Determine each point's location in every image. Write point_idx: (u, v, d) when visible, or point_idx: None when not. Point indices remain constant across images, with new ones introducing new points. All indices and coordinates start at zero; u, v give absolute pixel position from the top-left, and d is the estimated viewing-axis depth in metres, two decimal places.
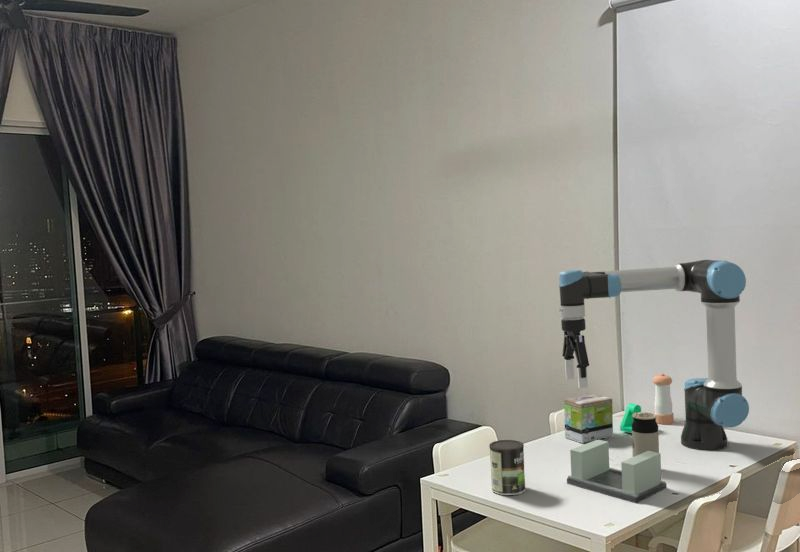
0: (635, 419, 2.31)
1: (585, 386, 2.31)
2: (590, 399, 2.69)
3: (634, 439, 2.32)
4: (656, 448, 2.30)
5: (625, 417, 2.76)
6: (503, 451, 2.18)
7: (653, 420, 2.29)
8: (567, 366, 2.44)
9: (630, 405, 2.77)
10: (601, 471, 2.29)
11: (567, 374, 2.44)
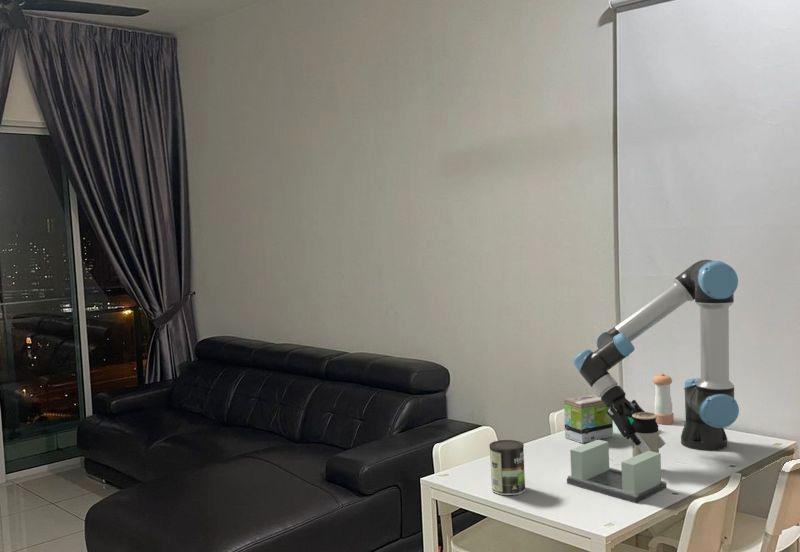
0: (635, 419, 2.31)
1: (647, 450, 2.27)
2: (590, 399, 2.69)
3: None
4: (656, 448, 2.30)
5: None
6: (503, 451, 2.18)
7: (653, 420, 2.29)
8: None
9: None
10: (601, 471, 2.29)
11: None
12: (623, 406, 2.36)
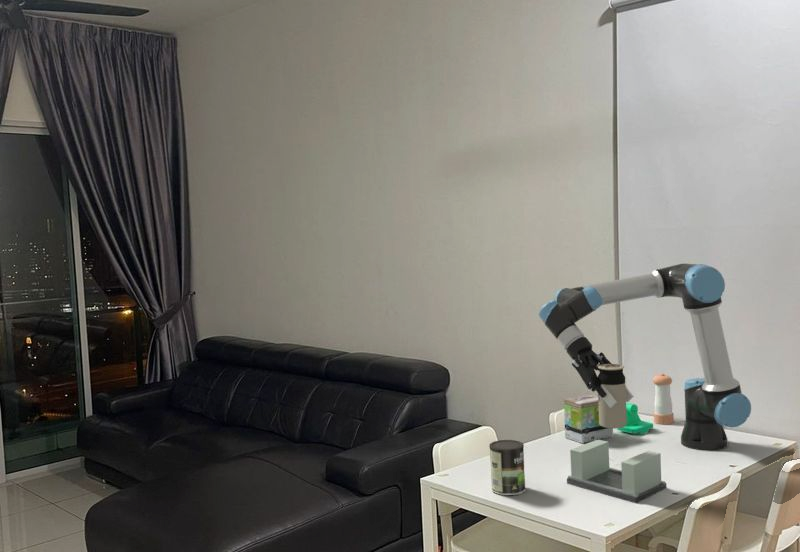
0: (601, 370, 2.19)
1: (613, 402, 2.14)
2: (590, 399, 2.69)
3: None
4: (623, 401, 2.17)
5: None
6: (503, 451, 2.18)
7: (620, 371, 2.17)
8: None
9: (627, 405, 2.78)
10: (601, 471, 2.29)
11: None
12: (589, 358, 2.23)
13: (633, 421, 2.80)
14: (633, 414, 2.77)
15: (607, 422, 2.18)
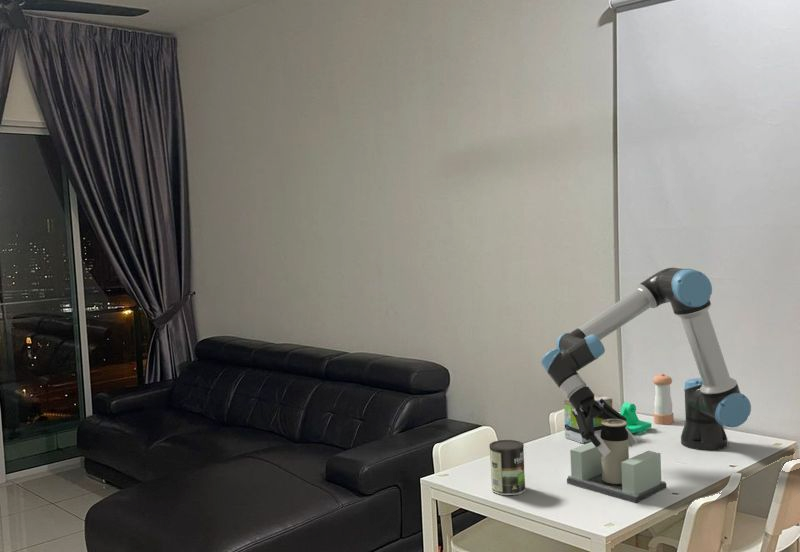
0: (604, 426, 2.20)
1: (607, 452, 2.15)
2: None
3: None
4: (625, 457, 2.18)
5: None
6: (503, 451, 2.18)
7: (622, 427, 2.18)
8: None
9: (626, 404, 2.78)
10: (601, 471, 2.29)
11: None
12: (591, 408, 2.24)
13: (631, 421, 2.80)
14: (631, 414, 2.78)
15: (610, 478, 2.19)
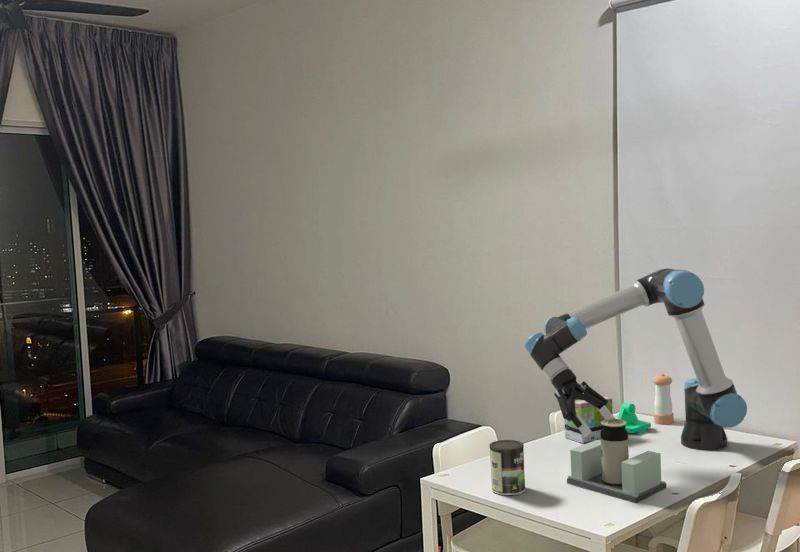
0: (604, 426, 2.20)
1: (588, 432, 2.19)
2: None
3: (603, 447, 2.20)
4: (625, 457, 2.18)
5: (620, 416, 2.78)
6: (503, 451, 2.18)
7: (622, 427, 2.18)
8: (603, 415, 2.30)
9: (625, 404, 2.79)
10: (601, 471, 2.29)
11: None
12: (572, 389, 2.28)
13: (631, 421, 2.81)
14: (631, 414, 2.78)
15: (610, 478, 2.19)
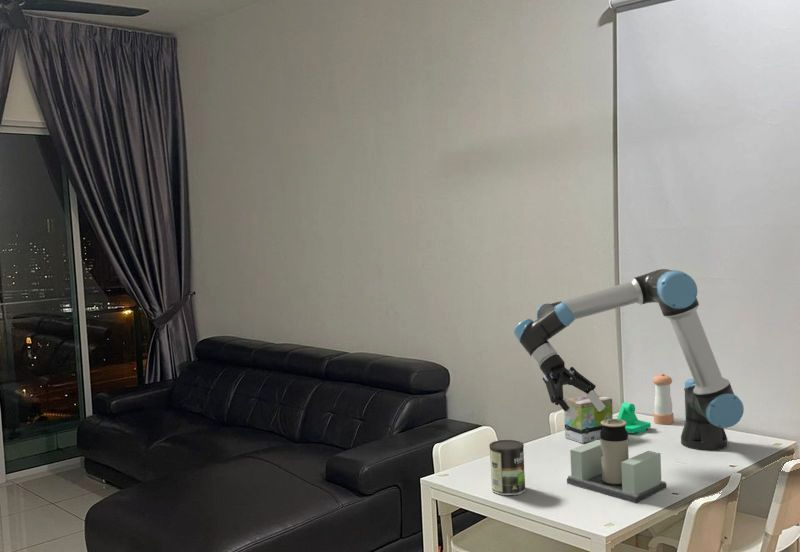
0: (603, 426, 2.20)
1: (575, 416, 2.22)
2: None
3: (602, 447, 2.20)
4: (625, 457, 2.18)
5: (619, 416, 2.78)
6: (503, 451, 2.18)
7: (622, 427, 2.18)
8: (591, 399, 2.34)
9: (625, 404, 2.79)
10: (601, 471, 2.29)
11: (596, 406, 2.32)
12: (560, 374, 2.32)
13: (630, 420, 2.81)
14: (631, 413, 2.78)
15: (610, 478, 2.19)
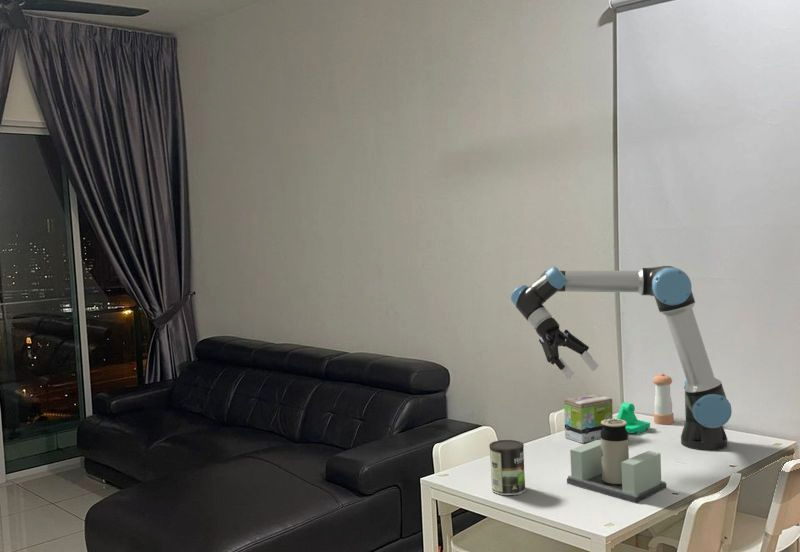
0: (604, 426, 2.20)
1: (570, 374, 2.34)
2: (590, 399, 2.69)
3: (603, 447, 2.20)
4: (625, 457, 2.18)
5: (619, 416, 2.78)
6: (503, 451, 2.18)
7: (622, 427, 2.18)
8: (585, 360, 2.46)
9: (624, 404, 2.79)
10: (601, 471, 2.29)
11: (590, 366, 2.45)
12: (556, 336, 2.44)
13: (630, 420, 2.81)
14: (630, 413, 2.78)
15: (610, 478, 2.19)
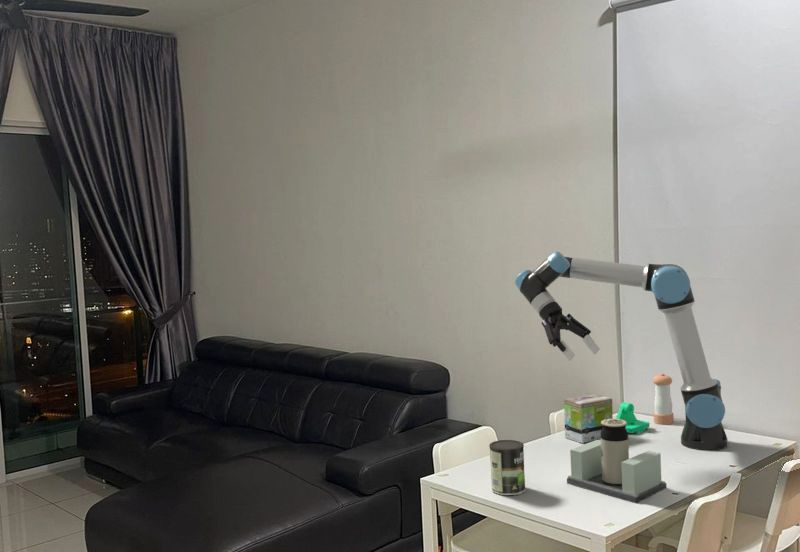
0: (604, 426, 2.20)
1: (571, 355, 2.40)
2: (590, 399, 2.69)
3: (603, 447, 2.20)
4: (625, 457, 2.18)
5: (618, 415, 2.78)
6: (503, 451, 2.18)
7: (622, 427, 2.18)
8: (586, 343, 2.51)
9: (624, 404, 2.79)
10: (601, 471, 2.29)
11: (591, 349, 2.50)
12: (558, 319, 2.49)
13: (629, 420, 2.81)
14: (629, 413, 2.78)
15: (610, 478, 2.19)
